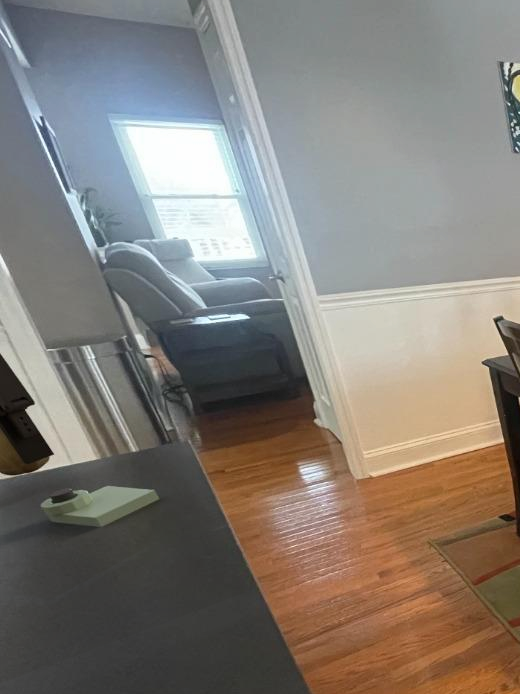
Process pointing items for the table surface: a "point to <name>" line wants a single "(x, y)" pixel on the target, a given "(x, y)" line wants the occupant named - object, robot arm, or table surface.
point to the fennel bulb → (15, 459)
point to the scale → (98, 505)
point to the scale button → (62, 495)
